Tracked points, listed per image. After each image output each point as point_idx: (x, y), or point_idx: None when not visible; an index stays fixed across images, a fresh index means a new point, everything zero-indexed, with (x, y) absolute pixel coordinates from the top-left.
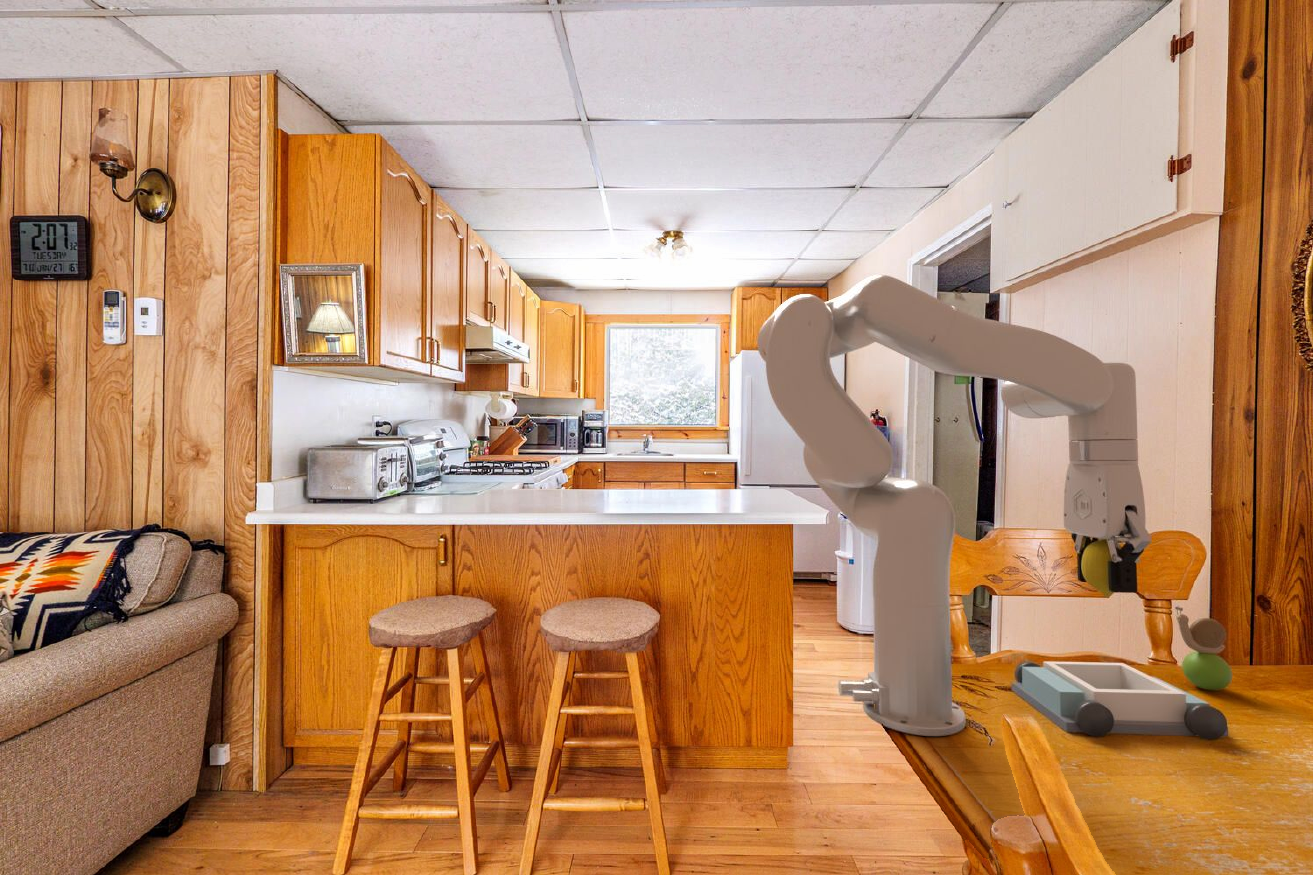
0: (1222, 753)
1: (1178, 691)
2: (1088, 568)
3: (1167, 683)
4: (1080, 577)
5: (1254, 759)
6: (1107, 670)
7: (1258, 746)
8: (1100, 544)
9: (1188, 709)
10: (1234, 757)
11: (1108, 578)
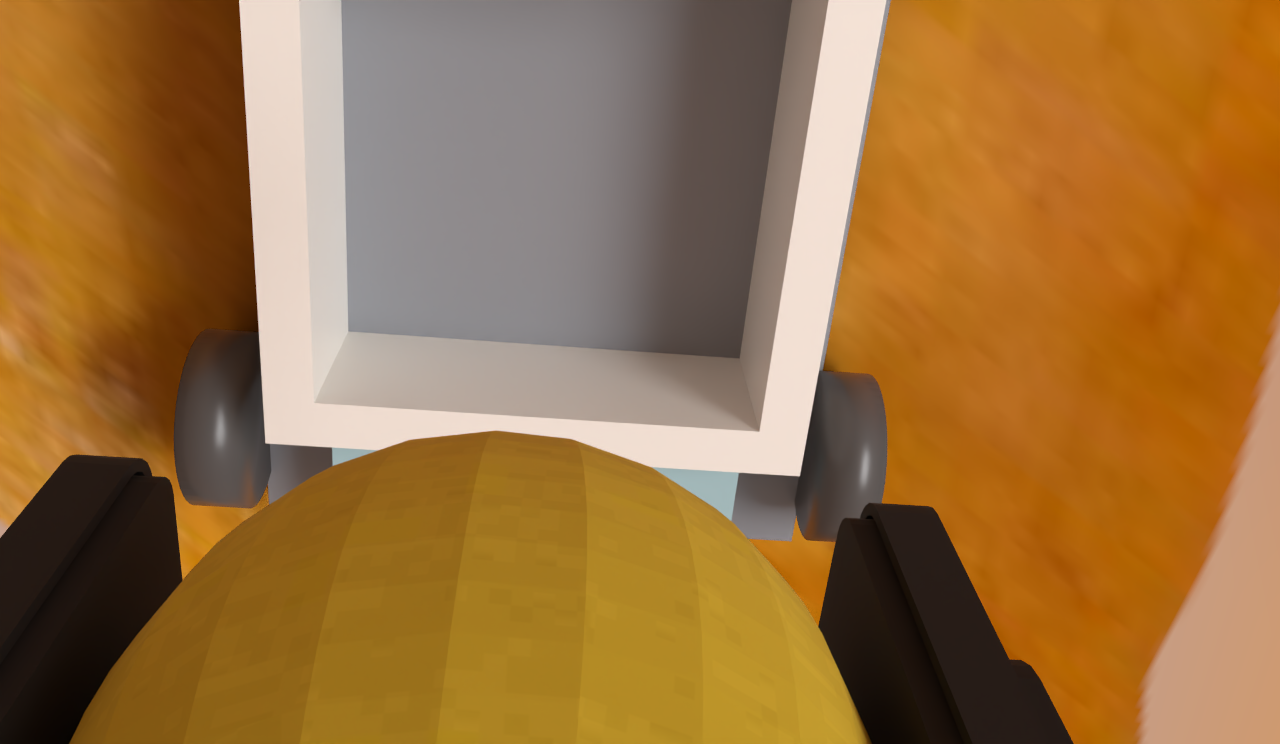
0: (90, 321)
1: (306, 434)
2: (386, 530)
3: None
4: (881, 532)
5: (52, 408)
6: (765, 335)
7: (197, 526)
8: None
9: (230, 381)
10: (56, 340)
11: (59, 567)
